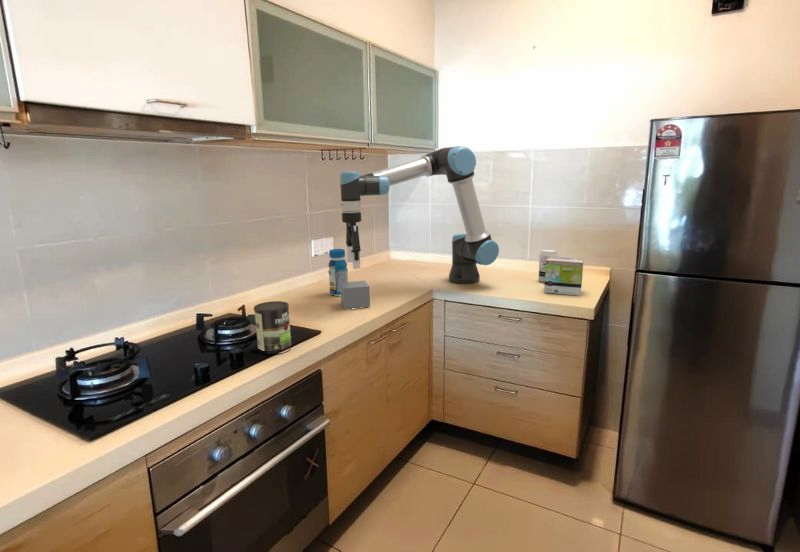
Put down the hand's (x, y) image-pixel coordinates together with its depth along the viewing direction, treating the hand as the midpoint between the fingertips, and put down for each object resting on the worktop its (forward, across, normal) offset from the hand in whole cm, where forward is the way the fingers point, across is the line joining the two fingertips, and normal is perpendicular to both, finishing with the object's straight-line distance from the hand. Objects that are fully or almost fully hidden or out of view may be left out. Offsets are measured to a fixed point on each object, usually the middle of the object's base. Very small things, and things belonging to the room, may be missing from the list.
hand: (353, 265), depth 185 cm
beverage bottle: (+17, -20, -4) cm, 26 cm away
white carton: (+17, -9, +94) cm, 96 cm away
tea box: (+17, +10, +90) cm, 92 cm away
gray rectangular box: (+17, 0, 0) cm, 17 cm away
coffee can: (+17, +39, -32) cm, 53 cm away
